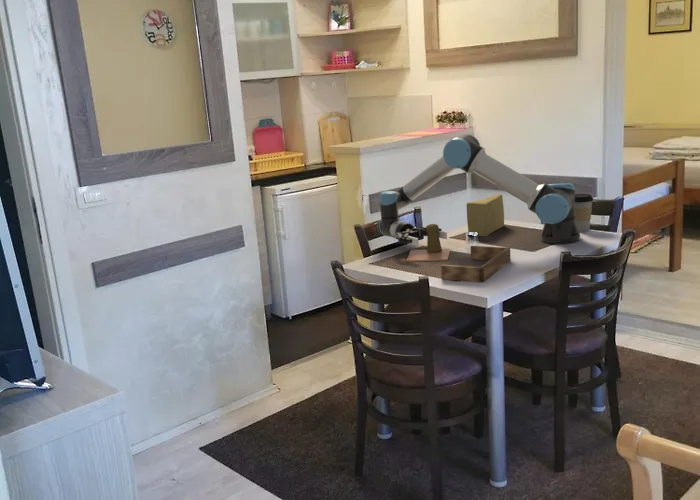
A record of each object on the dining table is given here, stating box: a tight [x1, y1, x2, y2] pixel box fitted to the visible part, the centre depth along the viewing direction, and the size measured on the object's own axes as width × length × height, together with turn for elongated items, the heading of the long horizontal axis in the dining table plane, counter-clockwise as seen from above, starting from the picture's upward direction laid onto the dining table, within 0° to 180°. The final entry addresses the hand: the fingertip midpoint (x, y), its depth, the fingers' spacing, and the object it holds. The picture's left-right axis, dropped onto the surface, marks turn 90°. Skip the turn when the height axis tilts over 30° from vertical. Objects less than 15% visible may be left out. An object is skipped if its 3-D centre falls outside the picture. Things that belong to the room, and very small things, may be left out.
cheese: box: [466, 193, 505, 237], centre depth 303 cm, size 22×10×15 cm, turn 137°
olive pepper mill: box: [425, 223, 443, 253], centre depth 275 cm, size 6×6×11 cm
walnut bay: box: [440, 245, 511, 283], centre depth 247 cm, size 15×28×5 cm, turn 148°
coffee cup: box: [575, 193, 594, 233], centre depth 289 cm, size 9×9×15 cm
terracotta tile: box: [405, 247, 451, 263], centre depth 273 cm, size 16×16×1 cm
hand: (432, 238), depth 268 cm, fingers open, 13 cm apart
